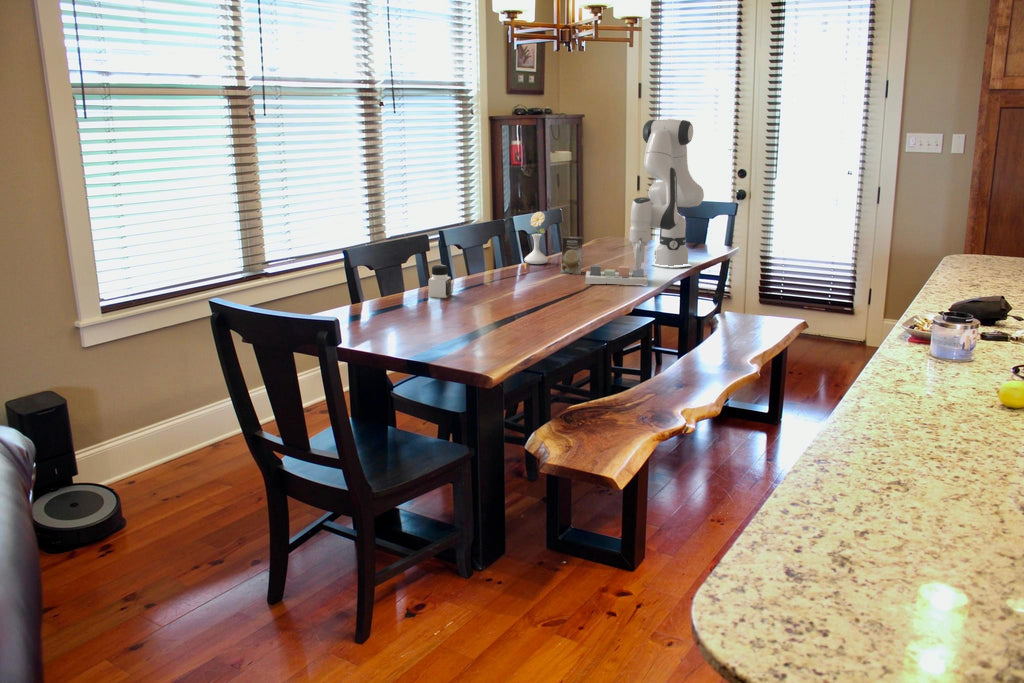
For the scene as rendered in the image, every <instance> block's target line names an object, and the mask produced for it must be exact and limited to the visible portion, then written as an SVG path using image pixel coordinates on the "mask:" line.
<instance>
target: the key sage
mask: <svg viewBox="0 0 1024 683" xmlns="http://www.w3.org/2000/svg"><path fill="white" fill-rule="evenodd" d="M603 272H604V276H615V272H616V269H612V268H611V269H608V268H607V269H606V268H605V269H604V271H603Z"/></svg>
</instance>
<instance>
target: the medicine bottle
mask: <svg viewBox="0 0 1024 683" xmlns="http://www.w3.org/2000/svg"><path fill="white" fill-rule="evenodd" d="M431 276H432V277H430V278H429V279H428V298H436V297H437V298H440V299H447V298H448V297H449V296H450V295H451V294H452V278H451V276H448V266H447V265H443V264H435V265H433V266H432V267H431Z"/></svg>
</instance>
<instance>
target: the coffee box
mask: <svg viewBox="0 0 1024 683" xmlns="http://www.w3.org/2000/svg"><path fill="white" fill-rule="evenodd" d="M561 245H562V246H561V261H560V262H561V263H560V264H561V265H560V274H565V273H573V274H572V275H581V274H582V263H583V262H582V261H583V259H582V258H583V236H576V235H575V236H573V235H571V236H570V235H562V244H561Z"/></svg>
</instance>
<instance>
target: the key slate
mask: <svg viewBox="0 0 1024 683" xmlns="http://www.w3.org/2000/svg"><path fill="white" fill-rule="evenodd" d="M644 270H645V269H644V268H640V270H636V268H632V273H633V277H643V275H644V273H645V272H644Z"/></svg>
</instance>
